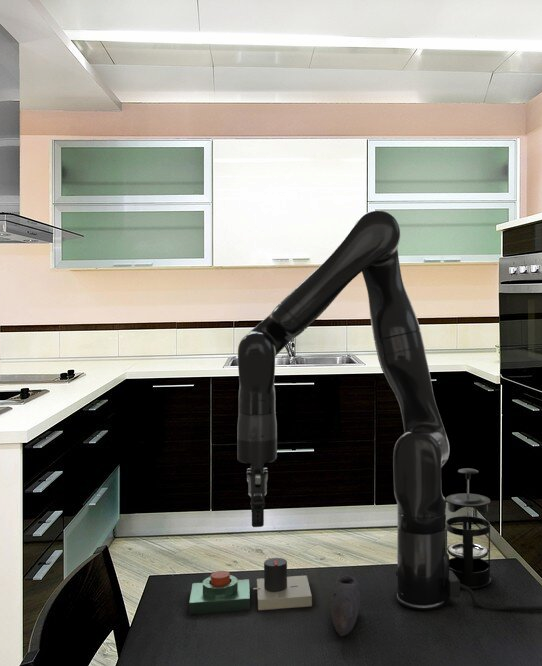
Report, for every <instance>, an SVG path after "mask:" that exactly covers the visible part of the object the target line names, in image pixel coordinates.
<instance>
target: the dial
mask: <svg viewBox="0 0 542 666" xmlns="http://www.w3.org/2000/svg"><path fill="white" fill-rule="evenodd" d="M287 577H288V561H287V560H286V559H285V558H282V557H272V558H268V559H266V560H264V562H263V578H264V589H265V590H267V591H270V592H279V591H283V590H285V589H286V588H287Z"/></svg>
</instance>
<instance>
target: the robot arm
mask: <svg viewBox="0 0 542 666" xmlns="http://www.w3.org/2000/svg"><path fill="white" fill-rule="evenodd" d="M400 241H401V228H400V224H399V222H398V220H397V219H396V218H395V216H393V215H392V214H391V213H389V212H387V211H384V210H371V211H367V212H366V213H364V214H362V215H361V216H360V217H359V218H358V219H357V220H356V222H355V223H354V225H353V226H352V228H351V230H350V231H349V232H348V234H347V235H346V237H345V238H344V239H343V240H342V241H341V243H340V244H339V245H338V246H337V248H335V249H334V251H332V253H331V254H330V255H329V256H328V257H327V258H326V259H325V261H323V262H322V264H320V265H319V266H318V267H317V268H316V269H315V270H314V271H313V272H312V273H310V275H308V276H307V277H306V278H305V279H304V280H303V281H302V282H301V283H299V284H298V285H297V286H296V287H295V288H294V289H293V290H292V291H291V292H290V293H288V294H287V295H286V297H284V298H283V299H282V300H281V301H280V302H279V303H278V305H276V306H275V307H274V309H273V310H272V311H271V312H270V314H268V315H267V317H264V319H263V320H262V321H260V322H259V323H258V324H257V325H256V326H254V327H253V328H252V329H251V330H250V331H249V332H248V333H247V334H245V335H244V337H242V338H241V339H240V341H239V343H238V346H237V368H238V380H239V381H238V382H239V389H238V417H237V424H236V425H237V426H236V429H237V433H236V435H237V437H236V439H237V440H236V441H237V442H236V443H237V445H236V446H237V447H236V448H237V449H236V451H237V452H236V453H237V461H238V462H240V463H242V464H249V465H250V468H246V482H247V486H248V487H247V488H248V490H247V492H248V493H247V495H248V496H249V497H250V503H249V504H250V509H251V526H252V527H253V528H262V527H264V525H265V505H266V500H265V496H266V495H268V489H267V488H268V480H269V470H268V467H264V465H265V464H269V463H273V462H275V461H276V460H277V459H278V421H277V415H276V414H277V411H276V410H277V409H276V408H277V403H276V402H277V399H276V398H277V396H276V388H275V387H276V386H275V376H276V375H275V372H276V370H275V369H276V356H277V355H278V354H279V353H280V352H281V351H282V350H284V348H285V347H286V346H288V344H289V343H290V342H291V341H292V340H293V339H295V338H297V337H298V336H300V335H301V334H302V333H303V332H304V331H305V330H306V329H308V327H310V326H311V325H312V324H313V323H314V322H315V321H316V320H317V319H318V318H319V317H320V316H321V315H322V314H323V313H324V312H325V311H326V310H327V309H328V308H329V306H330V305H331V304H332V303H333V302H334V300H336V298H337V297H338V296H339V295H340V294H341V293H342V291H343V290H345V288H346V287H347V286H348V285H349V284H350V283H351V282H352V281H354V279H355V278H356V277H358V276H359V275H360V274H362V277H363V281H364V284H365V288H366V293H367V299H368V309H369V317H370V324H371V325H370V326H371V330H372V336H373V341H374V347H375V351H376V356H377V360H378V363H379V366H380V369H381V371H382V372H383V376H384V377H385V379H386V381H387V384H388V386H390V388H391V390H392V393H393V394H394V396H395V398H396V400H397V402H398V406H399V409H400V414H401V419H402V425H403V434H402V435H400V437H399V438H398V439H397V440H396V442H395V444H394V447H393V454H392V455H393V456H392V470H393V471H392V473H393V475H392V476H393V494H394V498H395V500H396V506H397V508H396V509H397V510H396V511H397V554H396V555H397V558H396V559H397V561H396V562H397V563H396V564H397V569H396V571H395V577H396V578H397V580H396V581H397V582H396V584H397V585H396V586H397V587H396V592H397V593H396V600H397V602H398V603H399V604H400V605H401V606H403V607H405V608H408V609H412V610H419V611H431V610H435V609H439V608H441V607H443V606H446V605H447V606H448V605H450V599H451V598H452V599H454V598H461V590H464V591H466V592H467V593H469V595H470V597H471V601H472V603H473V604H474V605H475V606H477V607H478V608H481V609H485V610H493V611H542V605H500V606H497V605H496V606H493V605H492V606H491V605H486V604H483V603H482V602H480V601H478V599H477V598H476V594H475V592H474V590H471V589H470V588H468V587H467V586H465V585H463V584H460V581H459V579H458V578H457V577H456V576H455V574H454V573H453V572H452V571H451V570H449V559H450V554H449V553H448V551H447V552H446V520H447V501H446V497H445V496H444V495H443V492H442V468H443V467H444V466H445V464H446V463H447V462H448V460H449V456H450V442H449V439H448V436H447V432H446V430H445V427H444V424H443V421H442V418H441V414H440V412H439V409H438V406H437V403H436V399H435V395H434V390H433V384H432V378H431V373H430V369H429V364H428V359H427V355H426V354H427V353H426V349H425V347H426V346H425V343H424V338H423V334H422V331H421V326H420V323H419V320H418V317H417V315H416V311H415V309H414V306H413V305H412V302H411V299H410V297H409V295H408V292H407V290H406V288H405V285H404V281H403V277H402V271H401V265H400V264H401V263H400V258H399V245H400ZM460 588H462V589H460Z"/></svg>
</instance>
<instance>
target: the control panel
mask: <svg viewBox="0 0 542 666" xmlns="http://www.w3.org/2000/svg"><path fill="white" fill-rule="evenodd" d="M252 589H253V590H254V591H255V590H256V596H257V610H258V611H267V610H278V609H280V610H281V609H291V608H306V607H313V595H312V591H311V588H310V584H309V580H308V575H305V574H304V575H293V576H291V575H290V576H287V588H286V589H285V590H283V591H279V592H270V591H267V590H265V589H264V577H263V578H261V577H260V578H256V587H253V588H252Z"/></svg>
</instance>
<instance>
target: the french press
mask: <svg viewBox="0 0 542 666" xmlns="http://www.w3.org/2000/svg"><path fill="white" fill-rule="evenodd" d="M457 473H459V474H462V475H465V480H466V493H465V492H464V493H463V492H462V493H454V494H453V493H452V494H450V495H448V496H446V497H445V500H446V503H447V510H448V511H449V512H451V513H456V512H458V511H459V510H461V509H464V508H466V514H462V515H459V516H453V517H449V518H447V519H446V552H447V553H448V554H449V556H452V557H451V558H449V570H451V571H452V572H453V573H454V574H455V576H456V577H457V578H458V579H459V581H460V584H463V585H465V586H467V587H468V588H470V589H471V590H472V591H474V590H481V589H485V588H487V587H489V586H490V585H491V583H492V578H491V523H490V521H489V520H487V519H486V518H483V517H478V516H472V515H471V514H470V508H473V509H475V510H476V511H477V512H480V513H481V514H487V513H488V512H489V504H490V503H491V499H490V498H489V497H488V496H485V495H483V494H482V495H481V494H477V493H470V480H471V475H477V474H478V473H479V470H477V469H475V468H469V467H467V468H466V467H465V468H460V469H458V470H457ZM460 523H462V528H459V527H455V526H452V525H453V524H460ZM472 524H477V525H481V526H484V527H483V528H476V529H472ZM448 532H449V533H451V534H453V535H456V536H461V537H462V542H455V543H452V544H450V545H448ZM485 535H488V539H487V540H488V541H487V542H488V543H487V545H488V548H487V546H484V545H483V544H479V543H474V537H481V536H485ZM487 556H488V557H487ZM486 557H487V559H488V561H487V560H485V559H484V558H486ZM460 590H463V589H462V588H460Z"/></svg>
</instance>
